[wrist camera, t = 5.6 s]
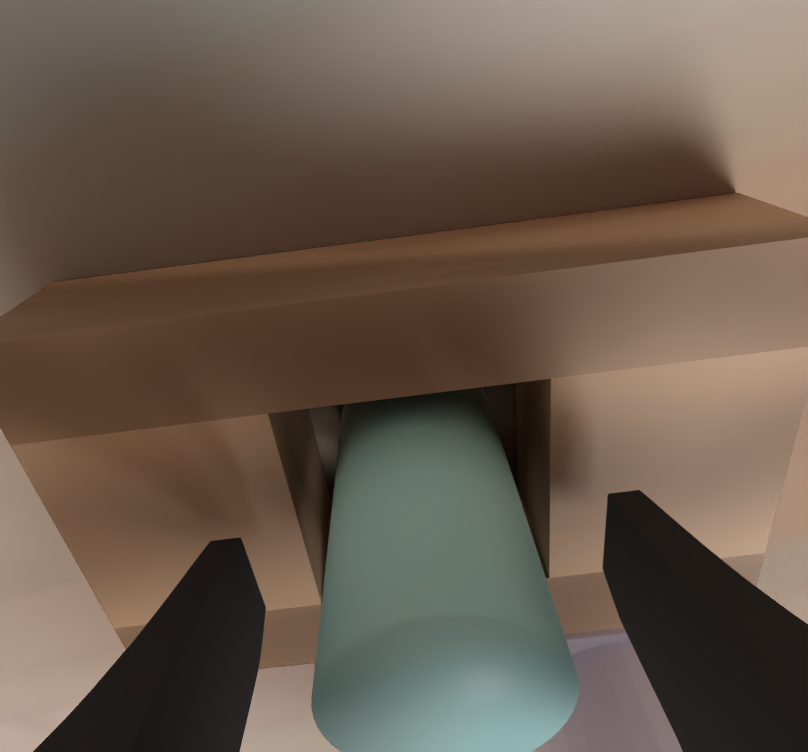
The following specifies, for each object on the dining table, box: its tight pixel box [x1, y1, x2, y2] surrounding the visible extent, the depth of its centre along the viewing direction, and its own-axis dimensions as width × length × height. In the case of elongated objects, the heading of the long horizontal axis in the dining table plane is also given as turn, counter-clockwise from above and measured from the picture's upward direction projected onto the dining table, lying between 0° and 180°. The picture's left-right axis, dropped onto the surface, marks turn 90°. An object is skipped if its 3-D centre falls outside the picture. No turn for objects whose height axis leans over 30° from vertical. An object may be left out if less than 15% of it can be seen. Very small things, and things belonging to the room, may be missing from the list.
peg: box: [312, 387, 579, 752], centre depth 12 cm, size 4×4×8 cm
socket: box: [0, 193, 808, 669], centre depth 14 cm, size 10×16×4 cm, turn 97°
